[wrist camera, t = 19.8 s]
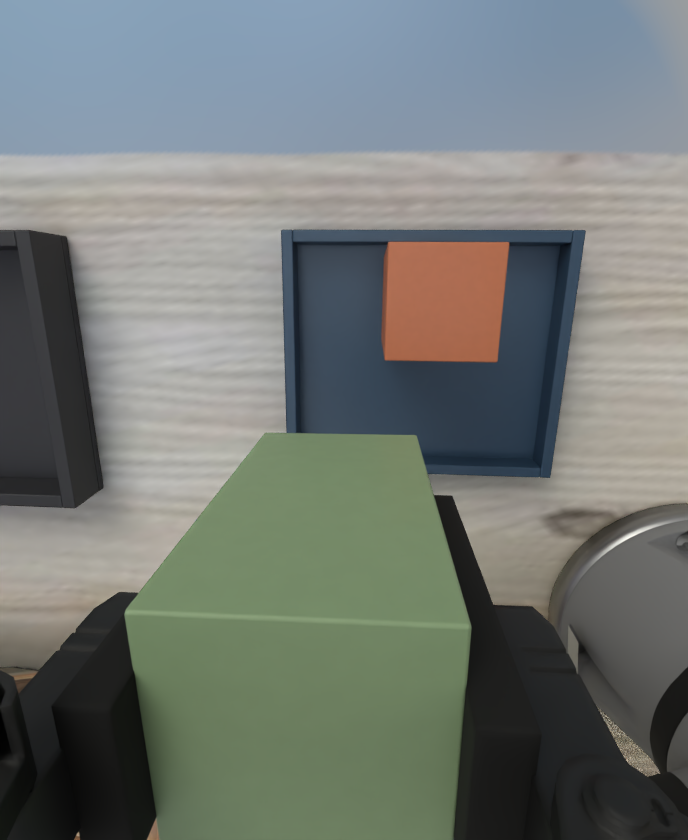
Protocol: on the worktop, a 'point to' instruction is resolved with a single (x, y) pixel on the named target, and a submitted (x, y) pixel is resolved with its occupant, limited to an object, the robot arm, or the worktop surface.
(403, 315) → the block
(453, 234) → the tray
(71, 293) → the pan
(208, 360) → the worktop surface
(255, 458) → the block
